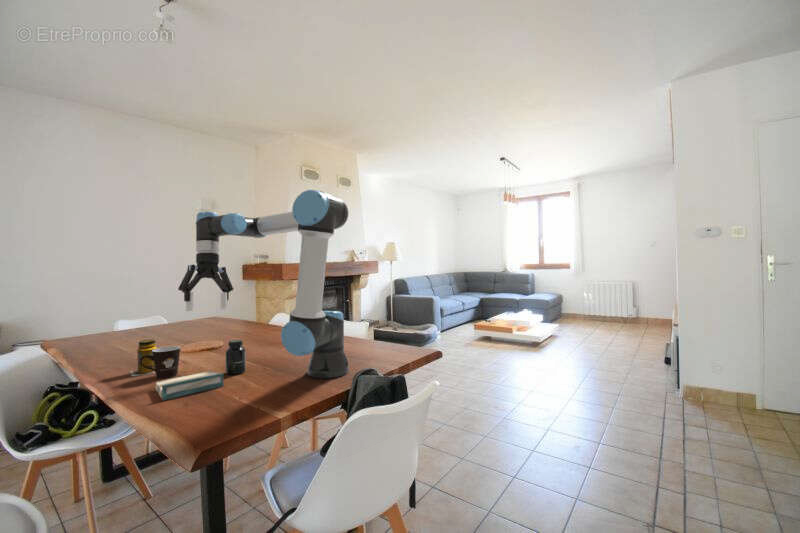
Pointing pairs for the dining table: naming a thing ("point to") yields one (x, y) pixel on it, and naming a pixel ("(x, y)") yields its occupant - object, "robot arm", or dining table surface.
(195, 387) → the teal and cream book
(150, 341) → the condiment
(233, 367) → the supplement bottle
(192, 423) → the dining table surface
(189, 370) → the dining table surface
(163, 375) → the coffee mug
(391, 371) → the dining table surface
